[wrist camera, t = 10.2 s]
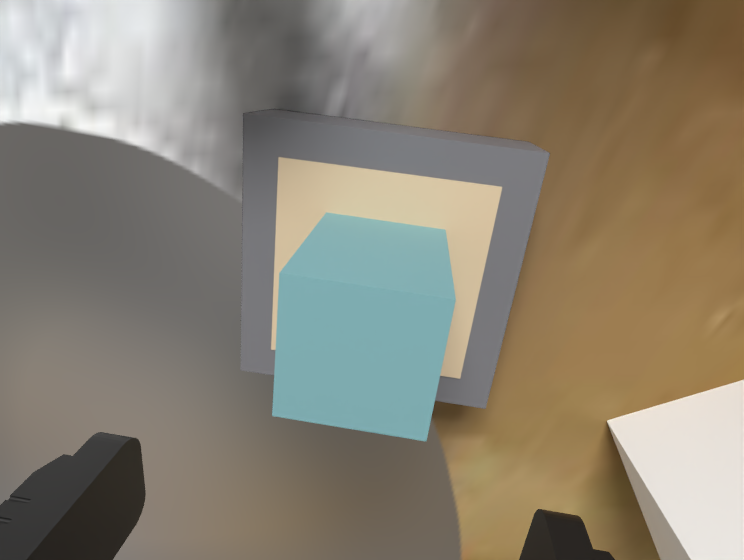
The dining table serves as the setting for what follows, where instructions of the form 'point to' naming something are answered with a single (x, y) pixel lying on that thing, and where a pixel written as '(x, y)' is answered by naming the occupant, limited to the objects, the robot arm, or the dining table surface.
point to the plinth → (395, 204)
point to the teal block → (364, 326)
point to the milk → (689, 472)
